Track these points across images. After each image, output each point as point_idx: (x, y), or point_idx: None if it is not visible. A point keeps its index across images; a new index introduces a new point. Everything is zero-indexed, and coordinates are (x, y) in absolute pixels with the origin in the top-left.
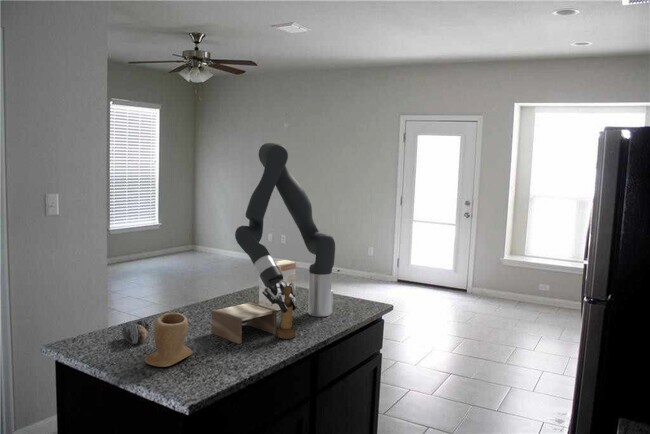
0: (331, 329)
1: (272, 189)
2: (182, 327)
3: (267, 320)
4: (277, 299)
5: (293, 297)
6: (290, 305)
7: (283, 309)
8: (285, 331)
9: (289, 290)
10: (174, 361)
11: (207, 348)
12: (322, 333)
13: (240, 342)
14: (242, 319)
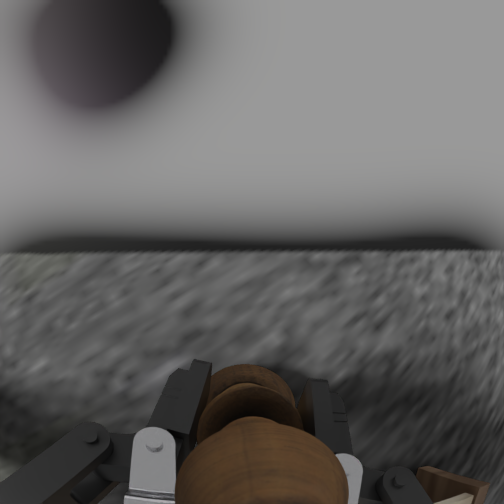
0: (61, 289)
1: None
2: None
3: None
4: (388, 474)
5: (143, 430)
6: (209, 424)
7: (338, 403)
8: (284, 389)
9: (297, 429)
10: None
11: (487, 475)
12: (115, 294)
13: (423, 467)
14: (467, 494)
